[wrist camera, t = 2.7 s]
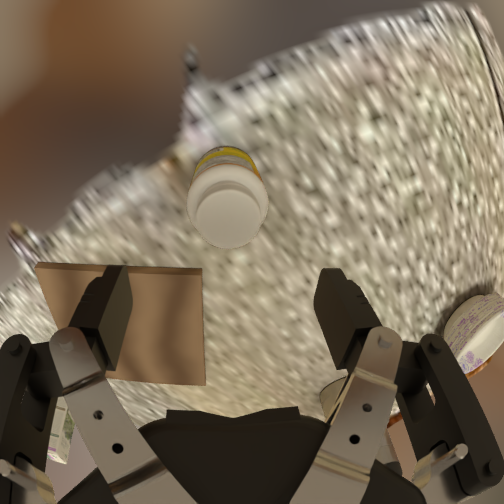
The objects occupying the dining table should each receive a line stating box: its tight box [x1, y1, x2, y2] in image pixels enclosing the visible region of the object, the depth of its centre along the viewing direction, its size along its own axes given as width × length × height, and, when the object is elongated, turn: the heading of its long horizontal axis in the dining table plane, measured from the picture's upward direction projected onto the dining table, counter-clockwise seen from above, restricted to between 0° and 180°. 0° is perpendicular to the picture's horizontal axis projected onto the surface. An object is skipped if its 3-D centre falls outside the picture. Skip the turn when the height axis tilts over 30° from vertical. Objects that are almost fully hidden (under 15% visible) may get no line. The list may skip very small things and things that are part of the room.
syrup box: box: [47, 397, 75, 464], centre depth 35 cm, size 6×6×14 cm
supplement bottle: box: [186, 146, 268, 249], centre depth 21 cm, size 5×5×10 cm
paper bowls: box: [444, 293, 504, 374], centre depth 37 cm, size 15×15×8 cm
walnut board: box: [34, 262, 206, 386], centre depth 33 cm, size 20×20×1 cm
